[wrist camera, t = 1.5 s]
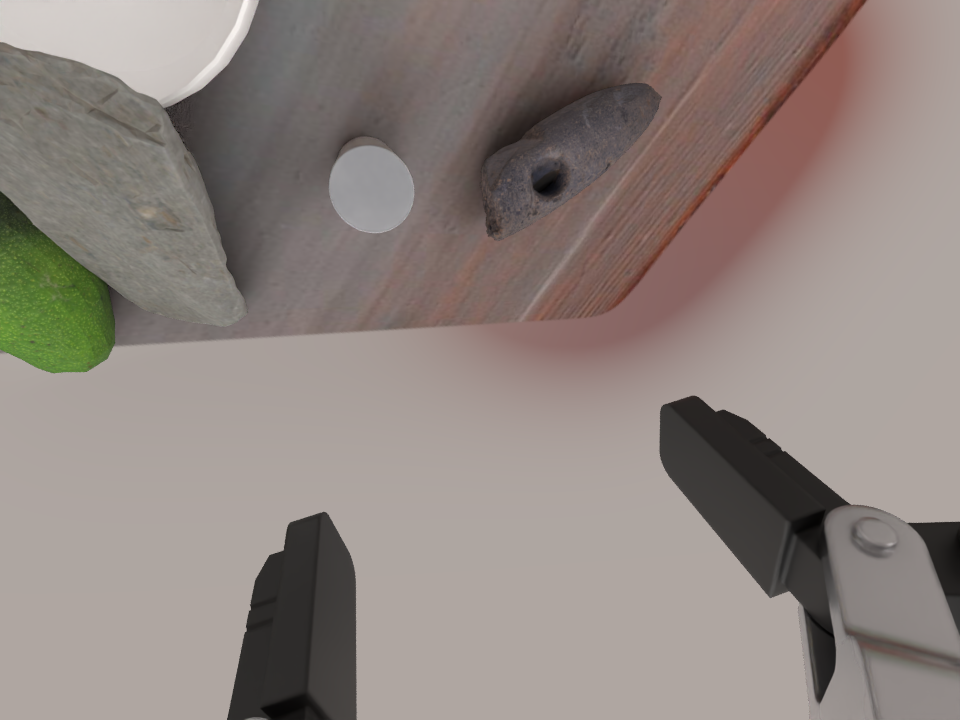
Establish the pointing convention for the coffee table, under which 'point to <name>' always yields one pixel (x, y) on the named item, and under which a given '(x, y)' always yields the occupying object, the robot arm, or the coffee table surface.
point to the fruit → (49, 300)
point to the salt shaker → (371, 186)
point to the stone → (112, 186)
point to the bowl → (135, 38)
